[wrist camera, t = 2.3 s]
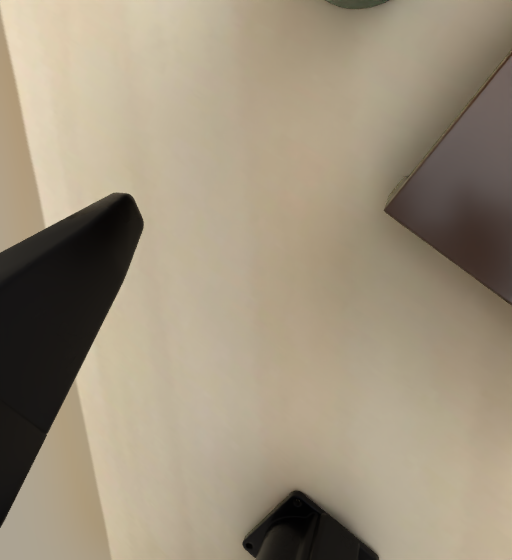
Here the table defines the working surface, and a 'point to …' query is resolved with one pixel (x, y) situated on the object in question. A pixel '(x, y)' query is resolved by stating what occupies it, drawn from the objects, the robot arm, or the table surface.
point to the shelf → (468, 188)
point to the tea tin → (356, 3)
